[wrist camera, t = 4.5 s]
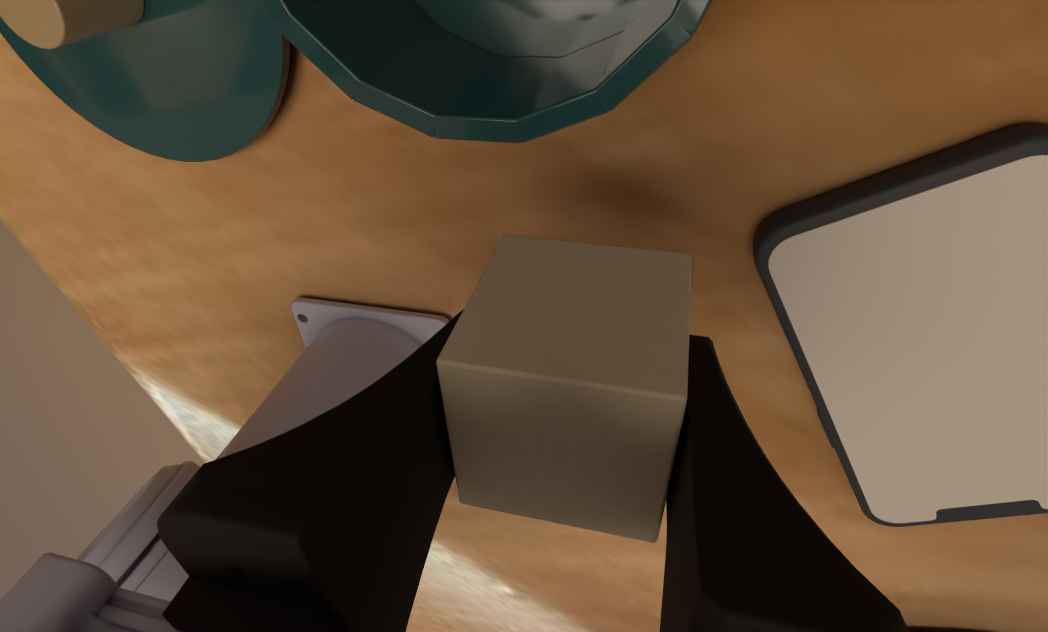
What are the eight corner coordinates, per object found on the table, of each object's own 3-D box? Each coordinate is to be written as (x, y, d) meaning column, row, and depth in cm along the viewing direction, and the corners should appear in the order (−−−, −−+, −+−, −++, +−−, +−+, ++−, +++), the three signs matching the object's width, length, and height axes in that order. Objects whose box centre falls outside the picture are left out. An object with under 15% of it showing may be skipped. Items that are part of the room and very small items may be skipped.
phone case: (737, 218, 20) (860, 502, 27) (739, 241, 19) (867, 533, 25) (1063, 98, 16) (1113, 473, 22) (1094, 117, 14) (1137, 508, 21)
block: (667, 390, 15) (656, 545, 12) (511, 367, 16) (458, 504, 13) (692, 252, 13) (687, 399, 9) (502, 233, 14) (433, 360, 10)
